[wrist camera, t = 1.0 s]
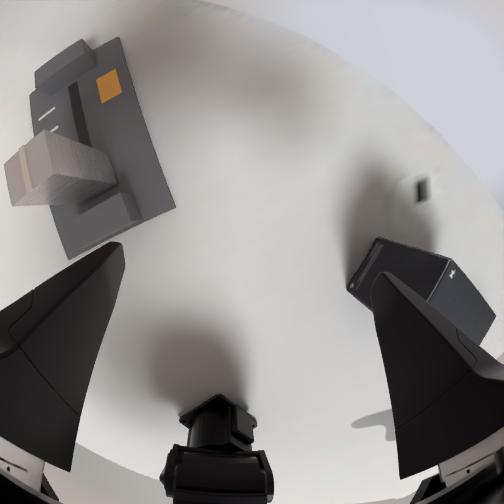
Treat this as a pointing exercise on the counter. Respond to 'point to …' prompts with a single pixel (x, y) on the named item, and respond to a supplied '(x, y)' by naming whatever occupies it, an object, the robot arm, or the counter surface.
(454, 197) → the counter surface
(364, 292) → the small box
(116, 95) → the fader panel
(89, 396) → the counter surface
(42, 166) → the fader tab
